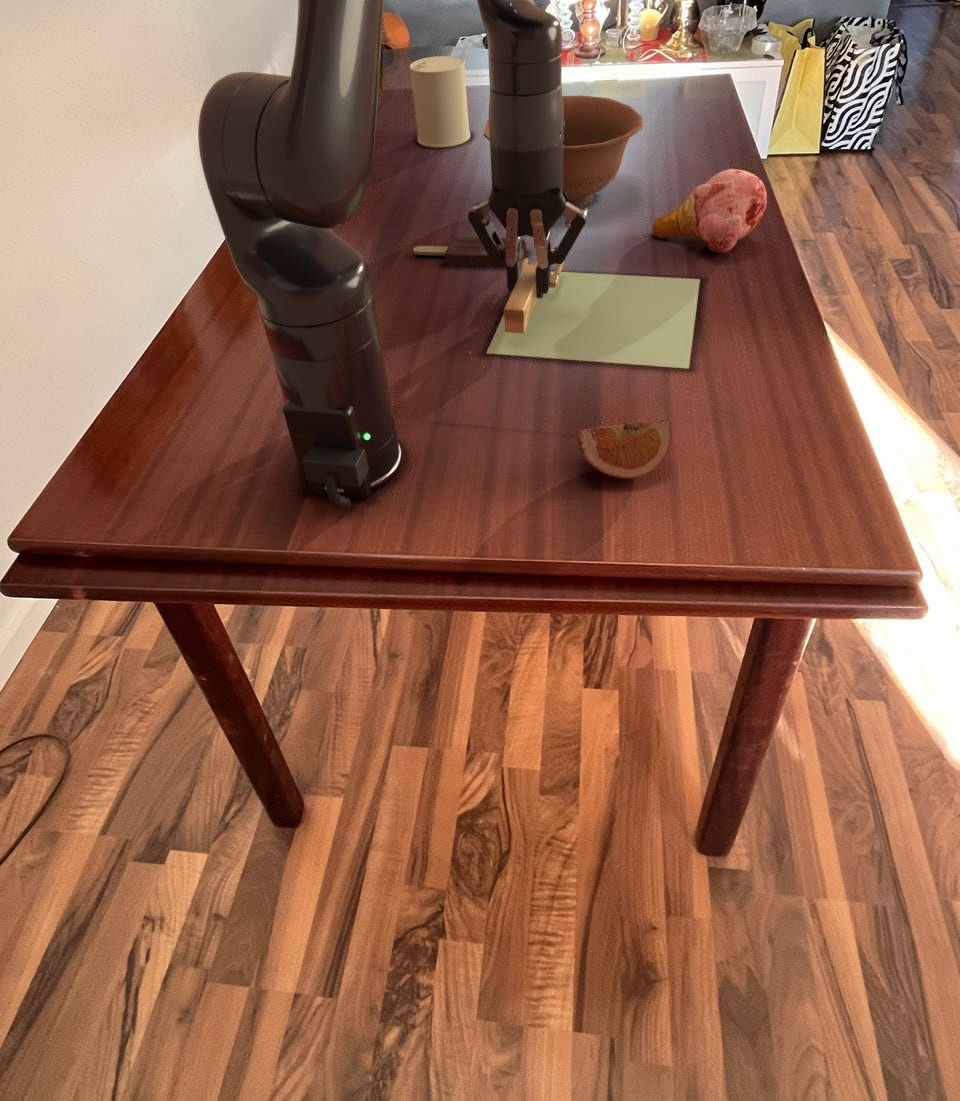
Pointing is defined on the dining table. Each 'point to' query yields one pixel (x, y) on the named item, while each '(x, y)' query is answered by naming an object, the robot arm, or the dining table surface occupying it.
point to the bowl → (593, 143)
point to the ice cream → (718, 211)
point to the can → (440, 101)
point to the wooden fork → (525, 297)
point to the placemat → (609, 321)
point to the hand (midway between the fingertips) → (529, 293)
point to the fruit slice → (626, 447)
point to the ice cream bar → (466, 252)
